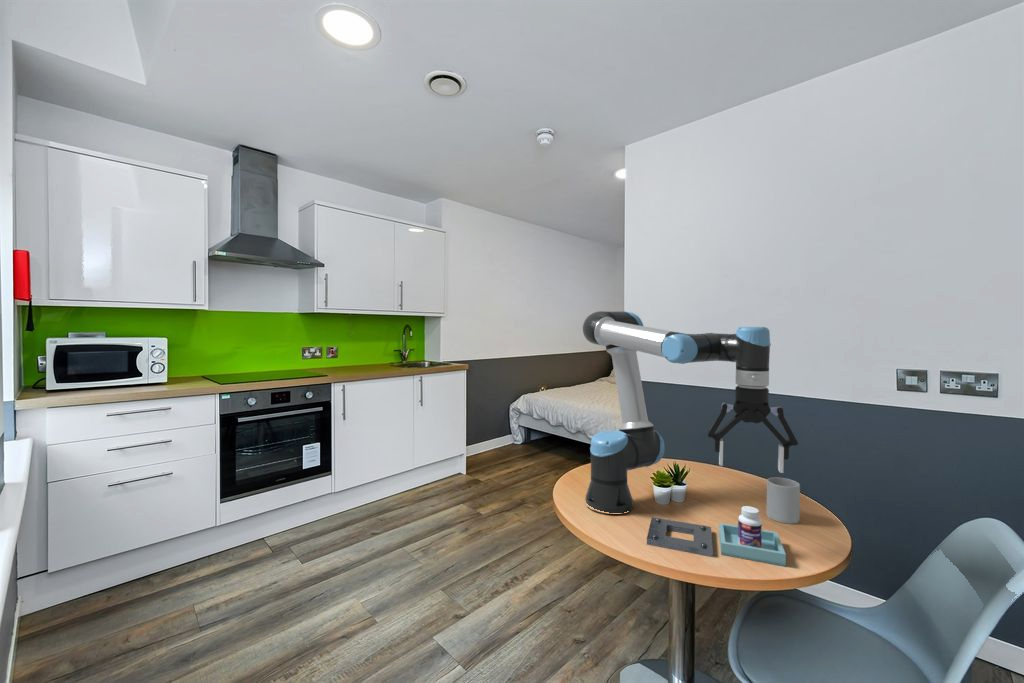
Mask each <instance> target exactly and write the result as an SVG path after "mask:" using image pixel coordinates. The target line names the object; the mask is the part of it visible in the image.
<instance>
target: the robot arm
mask: <svg viewBox="0 0 1024 683" xmlns="http://www.w3.org/2000/svg"><path fill="white" fill-rule="evenodd" d="M582 333H583V336H584V337H585V339H586V341H588V342H589V343H591V344H593V345H600V346H602V347H603V346H605V350H606V353H608V354H609V355H610V356H611V359H612V366H613V373H614V378H615V379H614V380H615V384H616V391H617V396H618V403H619V410H620V415H621V421H622V423H621V425H620V426H619V428H618V430H616V429H615V430H614V429H613V430H603V431H600V432H597V433H595V434H594V435H593V436H592V438H591V439H590V447H589V450H590V482H589V485H588V488H587V491H586V494H585V497H584V498H585V501H586V503H587V504H588V505H589V506H591V507H593V508H594V509H597V510H600V511H604V512H609V513H624V512H627V511H630V510H631V509H632V508H633V509H634V500H633V497H632V494H631V491H630V488H629V485H628V471H631V470H636V469H640V468H645V467H647V468H648V467H650V466H653V465H655V464H658V463H659V462H660V461H661V459H662V458H663V457H664V455H665V447H666V446H665V441H664V438H663V436H662V435H660V432H658V431H657V430H656V429H655V426H654V424H653V423H652V422H651V421H650V420H649V418H648V413H647V407H646V402H645V395H644V391H643V390H644V389H643V382H642V377H641V372H640V367H639V365H640V364H639V361H638V353H637V351H638V352H640V353H645V354H650V355H653V356H657V357H661V358H665V360H667V361H668V362H670V363H672V364H680V365H682V364H683V365H685V364H688V363H689V364H691V363H701V362H703V363H705V362H730V363H731V362H732V363H735V384H736V385H737V386H736V387H735V388H734V389H735V391H734V393H735V395H734V396H735V397H734V403H733V404H732V403H731V404H729V403H727V402H722V403H721V407H720V411H719V413H718V414H717V416H716V418H715V419H714V421H713V422H712V424H711V425H710V427H709V429H708V430H707V436H708V438H712V439H713V440H714V451H715V452H716V453H718V465H719V466H722V467H723V466H724V439H723V437H724V436H725V435H726V434H728V433H729V432H730V431H731V430H732V429H733V428H734V427H735V426H736V425H737V424H739V423H741V421H742V422H743V423H747V424H749V423H753V424H759V423H761V422H762V423H763V424H764V425H765V427H767V429H769V431H770V432H771V434H773V436H775V437H776V438H777V439H778V441H779V442H780V443H781V444H780V443H778V446H777V447H778V449H777V450H778V452H777V453H778V455H777V457H778V458H777V470H778V472H779V473H781V474H784V465H785V462H784V460H789V456H790V447H792V446H798V444H799V442H798V441H797V440H798V439H796V436H795V435H794V433H793V431H792V429H791V427H790V425H789V423H788V421H787V420H786V418H785V416H784V415H785V414H784V409H783V407H781V406H780V405H777V406H774V407H773V406H770V405H769V403H770V402H769V399H770V398H769V396H770V395H769V393H770V390H769V388H768V387H770V351H771V344H772V343H771V335H770V329H769V328H768V327H765V326H738V327H737V328H736V332H735V333H715V332H705V333H683V332H677V331H671V330H666V329H660V328H655V327H650V326H644V323H643V321H642V318H640V316H639V315H637V314H635V313H633V312H632V311H630V312H629V311H625V310H622V311H621V310H620V311H602V310H599V311H595V312H593V313H591V314H589V315H588V316H587V317H586V318H585V320H584V321H583V325H582ZM732 410H733V411H734V413H735V415H734V416H732V418H731V419H730V420H729V421H728V422H727V423H725V425H724V426H723V427H722V428H721V429H720V430H719V431H718V432H717V430H718V428H719V426H720V425H721V423H722V421H723V419H724V418H725V416H726V415H727V413H729V412H730V411H732ZM770 413H772V414H773V415H774V416H775V417H776V418H777V419H778V420H779V422H780V424H781V427H782V428H783V430H784V432H785V434H786V436H787V438H788V439H786V438H785V437H784V436H783V435H782V434H781V432H779V431H778V429H777V428H776V427H775V426H774V425H773V424H772V423H771V422H770V420H768V418H767V417H768V416H769V414H770ZM585 501H584V502H585ZM633 509H632V510H633ZM632 510H631V511H632ZM631 511H630V512H631Z"/></svg>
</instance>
